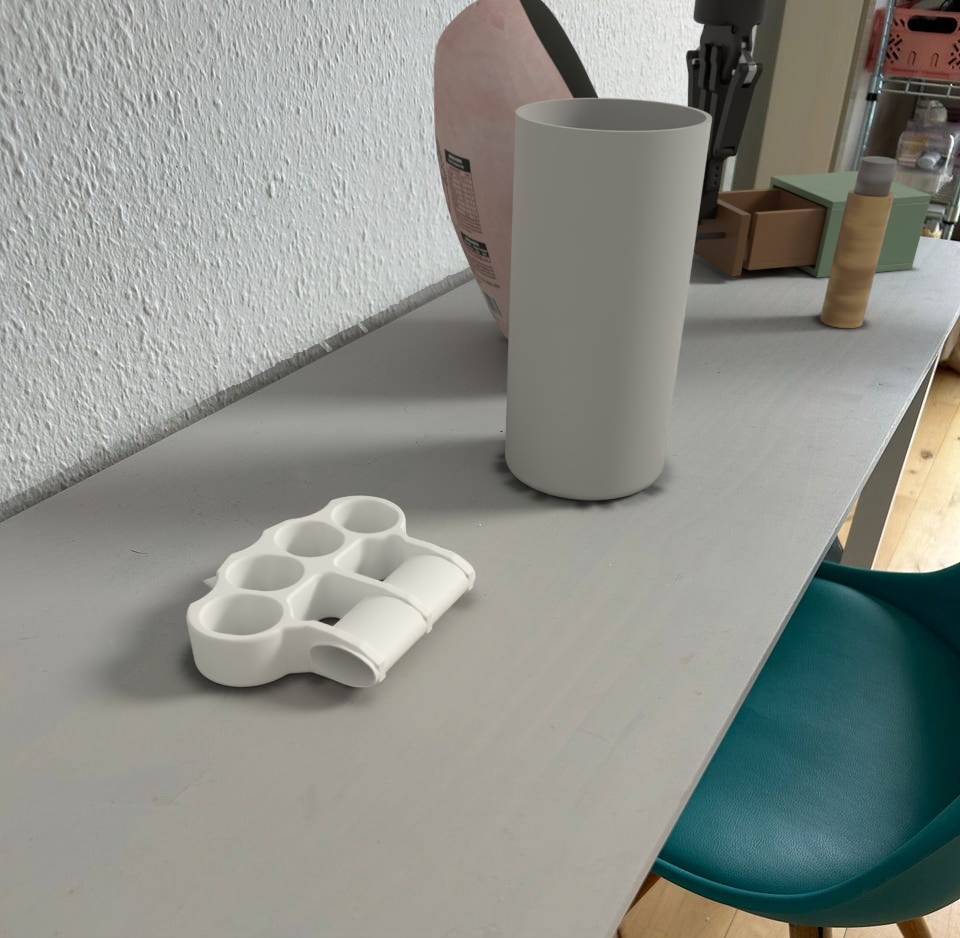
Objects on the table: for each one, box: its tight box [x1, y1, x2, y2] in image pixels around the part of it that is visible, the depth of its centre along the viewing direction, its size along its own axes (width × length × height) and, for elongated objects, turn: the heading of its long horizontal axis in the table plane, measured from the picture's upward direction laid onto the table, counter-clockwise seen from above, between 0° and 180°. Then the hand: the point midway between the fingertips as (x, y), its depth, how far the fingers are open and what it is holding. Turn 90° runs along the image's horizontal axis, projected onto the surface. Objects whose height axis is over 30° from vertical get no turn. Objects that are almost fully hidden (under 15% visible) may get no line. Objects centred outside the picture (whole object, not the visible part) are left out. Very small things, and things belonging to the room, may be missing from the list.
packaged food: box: [433, 0, 599, 341], centre depth 89 cm, size 22×20×30 cm
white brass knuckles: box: [185, 495, 477, 688], centre depth 61 cm, size 3×18×15 cm
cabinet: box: [768, 170, 932, 279], centre depth 123 cm, size 14×14×9 cm
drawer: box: [693, 187, 828, 277], centre depth 119 cm, size 17×12×7 cm
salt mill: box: [819, 155, 898, 329], centre depth 102 cm, size 4×4×16 cm
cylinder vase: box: [504, 97, 712, 501], centre depth 71 cm, size 12×12×25 cm
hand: (701, 218), depth 117 cm, fingers closed
